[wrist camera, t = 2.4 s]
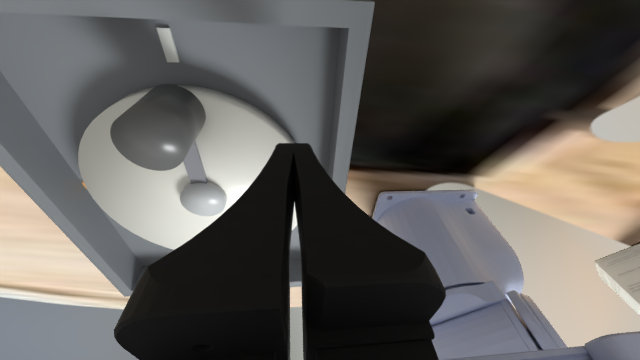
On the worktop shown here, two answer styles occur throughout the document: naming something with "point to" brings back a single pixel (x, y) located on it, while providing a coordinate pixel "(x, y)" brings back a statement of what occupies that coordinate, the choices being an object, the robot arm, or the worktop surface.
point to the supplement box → (623, 274)
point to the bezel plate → (168, 68)
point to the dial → (175, 159)
